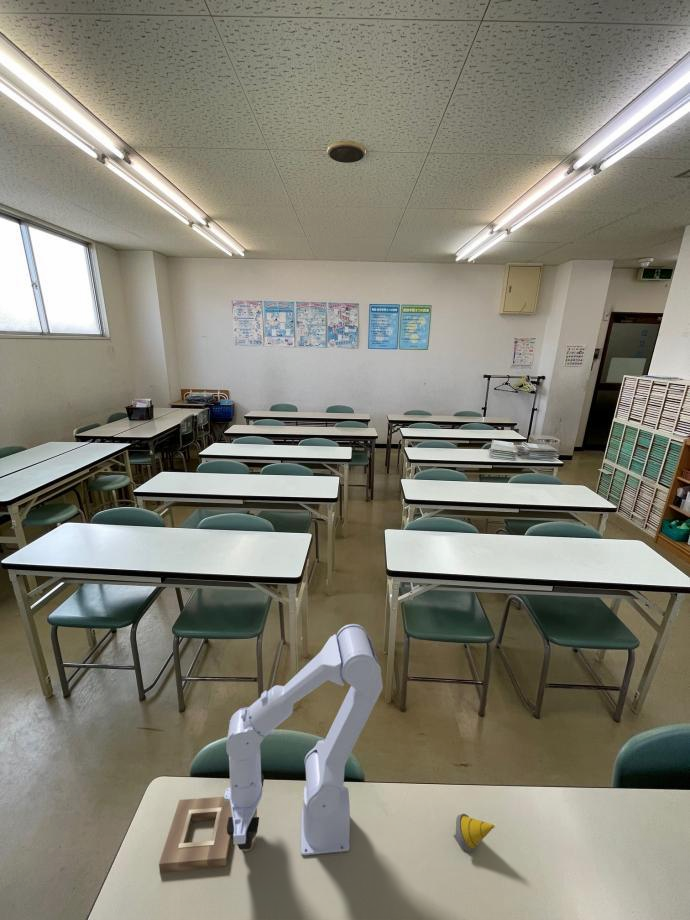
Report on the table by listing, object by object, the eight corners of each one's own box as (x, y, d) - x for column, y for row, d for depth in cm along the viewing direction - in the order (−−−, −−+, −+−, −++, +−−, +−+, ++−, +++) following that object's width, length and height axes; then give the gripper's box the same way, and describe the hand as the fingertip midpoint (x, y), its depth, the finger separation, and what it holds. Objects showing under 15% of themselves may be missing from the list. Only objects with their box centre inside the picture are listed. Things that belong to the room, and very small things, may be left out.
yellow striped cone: (457, 819, 80) (497, 809, 76) (464, 855, 75) (507, 847, 71) (442, 815, 78) (482, 804, 73) (448, 852, 73) (491, 843, 69)
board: (237, 803, 82) (236, 795, 81) (225, 866, 71) (225, 857, 70) (179, 807, 81) (179, 799, 80) (159, 872, 70) (158, 863, 69)
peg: (259, 830, 77) (258, 798, 75) (256, 853, 73) (255, 820, 71) (239, 832, 76) (238, 800, 75) (235, 855, 72) (234, 822, 71)
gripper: (231, 739, 78) (234, 792, 81) (214, 817, 64) (217, 878, 67) (266, 736, 79) (267, 789, 81) (256, 813, 65) (258, 875, 67)
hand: (247, 829), depth 74 cm, fingers open, 5 cm apart
